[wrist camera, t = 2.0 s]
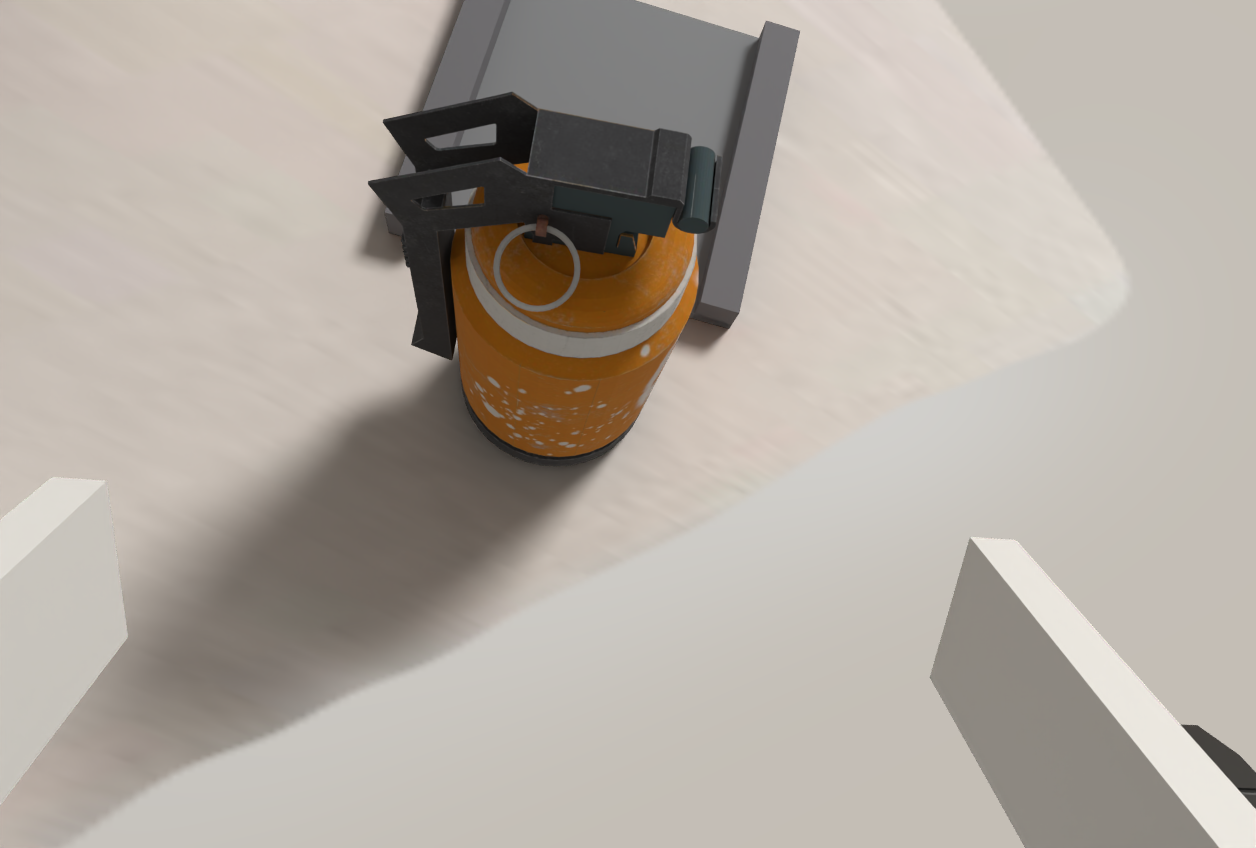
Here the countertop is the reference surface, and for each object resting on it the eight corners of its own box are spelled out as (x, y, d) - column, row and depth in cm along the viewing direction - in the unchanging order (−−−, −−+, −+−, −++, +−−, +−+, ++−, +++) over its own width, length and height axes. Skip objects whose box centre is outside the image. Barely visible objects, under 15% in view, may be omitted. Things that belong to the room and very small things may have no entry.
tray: (389, 232, 45) (384, 212, 43) (488, -37, 51) (488, -65, 49) (729, 328, 46) (739, 313, 44) (788, 55, 52) (800, 31, 50)
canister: (632, 482, 43) (742, 313, 24) (402, 447, 42) (328, 241, 23) (652, 314, 46) (765, 45, 27) (436, 277, 45) (396, -31, 26)
